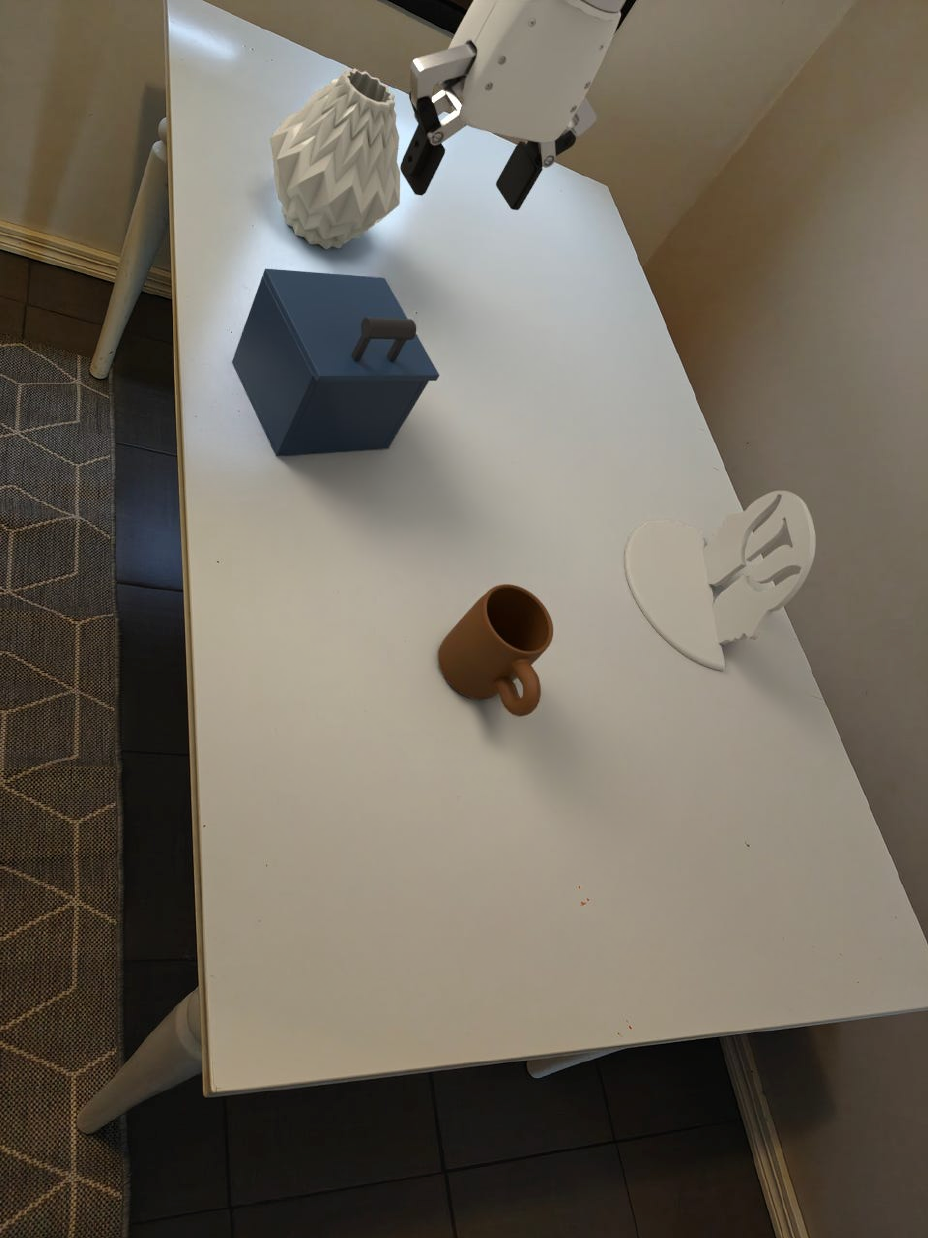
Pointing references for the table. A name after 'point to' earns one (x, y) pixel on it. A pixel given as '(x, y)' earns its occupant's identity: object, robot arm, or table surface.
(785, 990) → the table surface
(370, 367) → the cooler lid
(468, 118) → the robot arm
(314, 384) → the cooler
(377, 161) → the vase
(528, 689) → the mug
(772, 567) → the ornament
